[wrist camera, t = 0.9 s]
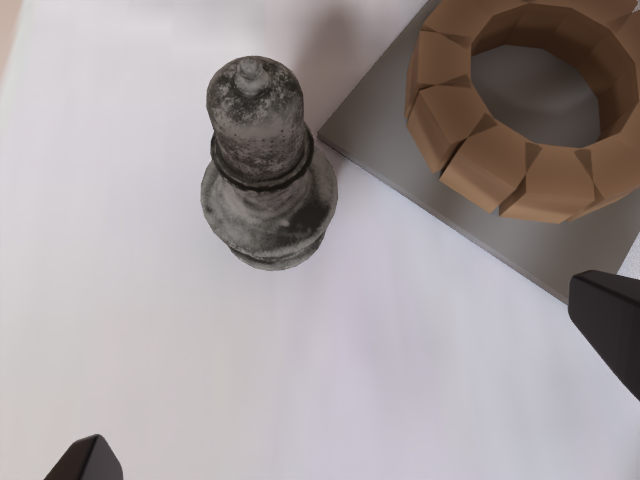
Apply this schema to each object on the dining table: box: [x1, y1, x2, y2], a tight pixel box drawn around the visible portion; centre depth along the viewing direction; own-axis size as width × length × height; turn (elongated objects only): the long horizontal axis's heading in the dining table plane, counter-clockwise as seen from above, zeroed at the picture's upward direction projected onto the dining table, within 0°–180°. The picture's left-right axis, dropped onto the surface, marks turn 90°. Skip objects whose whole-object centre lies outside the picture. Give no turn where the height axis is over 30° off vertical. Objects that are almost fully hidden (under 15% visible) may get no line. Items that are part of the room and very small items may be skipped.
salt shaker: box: [201, 56, 338, 271], centre depth 18 cm, size 6×6×12 cm
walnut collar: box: [317, 0, 640, 305], centre depth 24 cm, size 16×16×4 cm
